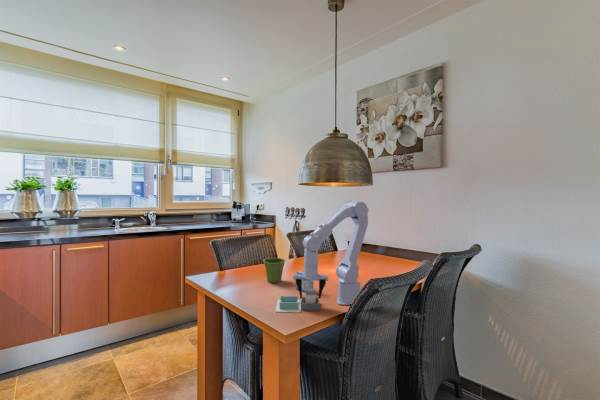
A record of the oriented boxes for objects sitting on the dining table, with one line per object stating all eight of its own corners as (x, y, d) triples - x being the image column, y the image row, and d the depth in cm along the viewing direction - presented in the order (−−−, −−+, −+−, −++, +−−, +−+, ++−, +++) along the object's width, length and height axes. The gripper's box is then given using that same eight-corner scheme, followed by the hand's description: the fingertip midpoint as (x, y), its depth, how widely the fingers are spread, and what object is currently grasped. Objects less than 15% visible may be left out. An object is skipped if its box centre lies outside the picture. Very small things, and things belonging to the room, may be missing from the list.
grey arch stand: (318, 303, 130) (318, 297, 130) (319, 310, 121) (319, 304, 121) (301, 302, 130) (301, 297, 130) (301, 310, 121) (301, 304, 121)
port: (300, 300, 132) (300, 294, 132) (300, 312, 119) (300, 305, 119) (277, 300, 132) (277, 293, 132) (275, 312, 119) (275, 305, 119)
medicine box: (295, 289, 148) (296, 271, 148) (302, 287, 151) (302, 270, 151) (307, 293, 142) (307, 275, 142) (313, 291, 145) (314, 273, 145)
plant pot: (258, 282, 158) (258, 261, 158) (271, 277, 168) (271, 257, 168) (277, 286, 152) (278, 263, 152) (289, 280, 163) (289, 259, 163)
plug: (314, 304, 128) (315, 288, 127) (315, 308, 124) (315, 291, 123) (305, 304, 128) (305, 288, 127) (305, 308, 124) (305, 291, 123)
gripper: (293, 267, 121) (292, 300, 121) (329, 267, 121) (328, 301, 121) (293, 263, 128) (293, 294, 128) (327, 263, 128) (327, 295, 128)
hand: (310, 297), depth 125 cm, fingers open, 7 cm apart
